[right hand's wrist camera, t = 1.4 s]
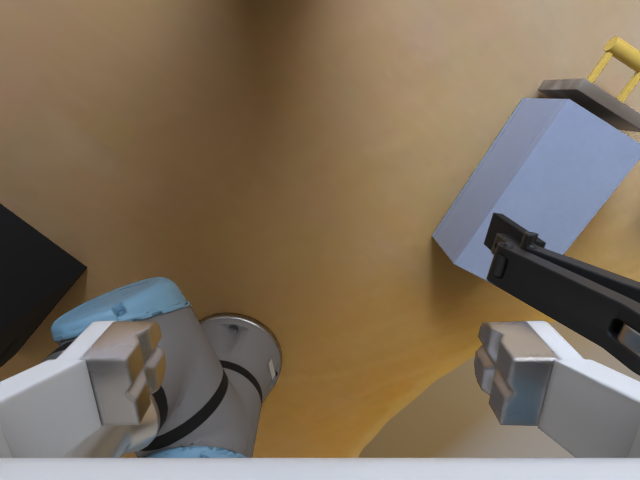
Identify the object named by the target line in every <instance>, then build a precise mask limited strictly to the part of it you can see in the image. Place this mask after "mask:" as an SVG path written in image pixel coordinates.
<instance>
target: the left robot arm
mask: <svg viewBox="0 0 640 480" xmlns="http://www.w3.org/2000/svg"><path fill="white" fill-rule="evenodd" d="M538 235H539V234H538V233H534V232H529V231H528V230H526V229H525V228H523V227H522V226H520V225H519V224H517V223H516V222H514V221H512V220H511V219H509V218H508V217H506V216H505V215H503V214H500V213H493V215H492V218H491V222H490V225H489V228H488V231H487V234H486V238H485V241H484V245H485V246H486V247H487V248H488V249H490V250H491V253H492V254H493V255H494V256H493V259H492V262H491V266H490V269H489V272H488V275H487V278H486V279H487V281H489V282H490V283H492V284H494V285H495V286H497V287H499V288H501V289H502V290H504V291H506V292H508V293H509V294H511V295H513V296H514V297H516V298H518V299H520V300H521V301H523V302H525V303H527V304H528V305H530V306H532V307H533V308H535V309H537V310H539V311H540V312H542V313H544V314H546V315H547V316H549V317H551V318H552V319H554V320H556V321H558V322H559V323H561V324H563V325H565V326H566V327H568V328H570V329H571V330H573V331H575V332H577V333H578V334H580V335H582V336H584V337H585V338H587V339H589V340H590V341H592V342H594V343H596V344H597V345H599V346H601V347H602V348H604V349H605V350H606V351H608V352H609V353H610V354H611V355H613V356H614V357H615V358H616V359H618V360H619V361H620V362H621V363H623V364H624V365H625V366H626V367H628V368H629V369H630V370H632V371H633V372H635V373H636V374H638V375H640V282H637V281H634V280H632V279H629V278H626V277H623V276H620V275H618V274H615V273H612V272H609V271H607V270H604V269H601V268H598V267H595V266H593V265H590V264H587V263H584V262H581V261H579V260H576V259H573V258H570V257H567V256H565V255H562V254H559V253H556V252H554V251H551V250H548V249H545V248H544V247H545V245H546V242H544V241H543V240H541V239H540V238H538ZM96 321H144V322H157V323H158V324H159V325H160V330H161V335H162V337H161V339H160V341H159V342H158V344H157V345H158V346H159V347H160V348H161V349H162V350H163V351H164V352H165V359H166V370H165V374H164V378H163V382H162V384H161V386H160V388H159V390H157V391H156V392H154V393H153V394H151V395H150V400H151V405H150V406H149V408H148V410H147V412H146V414H145V416H144V417H143V419H142V421H141V423H140V425H115V426H102V428H101V429H100V430H99V431H97V432H96V433H95V434H94V435H92V436H91V437H90V438H89V439H87V440H86V441H85V442H84V443H82V444H81V445H80V446H79V447H77V448H76V449H75V450H74V451H72V452H71V453H70V454H69V455H67V456H66V457H65V458H120V457H121V456H122V454H128V453H133V452H135V454H136V456H137V458H252V456H253V450H254V445H255V439H256V433H257V428H258V422H259V417H260V411H261V405H262V403H263V401H264V400H265V398H266V397H267V395H268V394H269V392H270V391H271V390H272V388H273V387H274V385H275V383H276V381H277V379H278V376H279V374H280V370H281V363H282V353H281V348H280V345H279V343H278V341H277V339H276V337H275V336H274V334H273V333H272V332H271V331H270V330H269V329H268V328H267V327H266V326H265V325H263V324H262V323H261V322H259V321H257V320H255V319H253V318H251V317H248V316H245V315H241V314H235V313H221V314H215V315H212V316H209V317H206V318H204V319H202V320H200V321H198V319H197V317H196V315H195V313H194V311H193V309H192V307H191V304H190V302H189V301H187V300H186V299H185V297H184V295H183V294H182V292H181V291H180V289H179V288H178V286H177V285H176V283H175V282H174V281H172V280H170V279H167V278H165V277H153V278H148V279H144V280H140V281H137V282H134V283H131V284H128V285H125V286H122V287H120V288H117V289H115V290H112V291H109V292H107V293H105V294H102V295H100V296H98V297H96V298H94V299H91V300H89V301H87V302H85V303H83V304H81V305H79V306H77V307H76V308H74V309H72V310H70V311H69V312H67V313H65V314H64V315H62V316H61V317H59V318H58V319H57V320H56V321H55V322H54V323H53V325H52V327H51V333H52V335H53V337H52V339H53V340H54V341H55V342H57V343H58V344H59V345H60V346H59V347H58V348H57V349H56V350H55V351H54V352H53V353H51V354H50V355H49V356H48V357H47V358H46V359H44V360H43V361H42V362H41V363H43V362H45V361H47V360H56V359H57V358H58V357H59V356H60V355H61V354H62V353H63V352H64V351H65V350H66V349H67V348H68V347H69V346H70V345H71V344H72V342H73V341H74V340H75V339H76V338H77V337H78V336H79V335H80V334H81V333H82V332H83V331H84V330H85V329H86V328H87V327H88V326H89V325H90V324H91V323H92V322H96Z"/></svg>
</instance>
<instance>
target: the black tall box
mask: <svg viewBox="0 0 640 480" xmlns="http://www.w3.org/2000/svg"><path fill="white" fill-rule="evenodd" d="M86 268H87V267H86V266H84V265H83V264H82V263H80V262H79V261H78V260H76V259H75V258H74V257H72V256H71V255H69V254H68V253H67V252H65V251H64V250H63V249H61V248H60V247H59V246H57V245H56V244H54V243H53V242H52V241H50V240H49V239H48V238H46V237H45V236H44V235H42V234H41V233H39V232H38V231H37V230H35V229H34V228H33V227H31V226H30V225H29V224H27V223H26V222H24V221H23V220H22V219H20V218H19V217H18V216H16V215H15V214H14V213H12V212H11V211H9V210H8V209H7V208H5V207H4V206H3V205H1V204H0V367H1V366H2V365H4V364H5V363H6V362H7V361H8V360H9V359H11V358H12V357H13V356H14V355H15V354H16V353H17V352H18V350H19V349H20V348H21V347H22V346H23V344H24V343H25V342H26V341H27V339H28V338H29V337H30V336H31V335H32V333H33V332H34V331H35V330H36V329H37V327H38V326H39V325H40V324H41V323H42V321H43V320H44V319H45V318H46V317H47V315H48V314H49V313H50V312H51V310H52V309H53V308H54V307H55V306H56V304H57V303H58V302H59V301H60V300H61V298H62V297H63V296H64V295H65V294H66V292H67V291H68V290H69V289H70V288H71V286H72V285H73V284H74V283H75V281H76V280H77V279H78V278H79V277H80V275H81V274H82V273H83V272H84V271H85V269H86Z"/></svg>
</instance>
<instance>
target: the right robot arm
mask: <svg viewBox="0 0 640 480" xmlns="http://www.w3.org/2000/svg"><path fill="white" fill-rule="evenodd" d="M161 337H162V335H161V330H160V325H159V324H158V323H157V322H144V321H96V322H92V323H91V324H90V325H89V326H88V327H87V328H86V329H85V330H84V331H83V332H82V333H81V334H80V335H79V336H78V337H77V338H76V339H75V340H74V341H73V342H72V344H71V345H70V346H69V347H68V348H67V349H66V350H65V351H64V352H63V353H62V354H61V355H60V356H59V357H58V358H57V359H56V360H47V361H45V362H43V363H40V364H38V365H36V366H34V367H32V368H29V369H27V370H25V371H23V372H21V373H18V374H16V375H14V376H12V377H10V378H7V379H5V380H3V381H1V382H0V480H640V382H639V381H637V380H635V379H633V378H630V377H628V376H626V375H624V374H622V373H619V372H617V371H615V370H613V369H611V368H608V367H606V366H604V365H602V364H600V363H597V362H595V361H593V360H584V359H583V358H582V357H581V356H580V355H579V354H578V353H577V352H576V350H575V349H573V347H572V346H571V345H570V344H569V343H567V341H566V340H565V339H564V338H563V337H562V336H561V335H560V334H559V333H558V332H557V331H556V330H555V329H554V328H553V327H552V326H551V325H550V324H549V323H548V322H545V321H518V322H482V324H481V326H480V329H479V334H478V337H479V339H480V341H481V342H482V344H483V345H482V346H481V347H480V348H479V349H478V350H477V351H476V352H475V360H474V367H475V375H476V378H477V382H478V384H479V386H480V388H481V390H483V391H484V392H486V393H487V394H489V395H490V400H489V405H490V406H491V408H492V410H493V412H494V414H495V415H496V417H497V419H498V421H499V423H500V424H501V425H524V426H538V428H539V429H540V430H542V431H543V432H544V433H545V434H547V435H548V436H549V437H550V438H552V439H553V440H554V441H555V442H557V443H558V444H559V445H560V446H562V447H563V448H564V449H565V450H567V451H568V452H569V453H570V454H572V455H573V456H574V457H575V458H65V457H66V456H67V455H69V454H70V453H71V452H72V451H74V450H75V449H76V448H77V447H79V446H80V445H81V444H82V443H84V442H85V441H86V440H87V439H89V438H90V437H91V436H92V435H94V434H95V433H96V432H97V431H99V430H100V429H101V428H102V426H115V425H140V423H141V421H142V419H143V417H144V416H145V414H146V412H147V410H148V408H149V406H150V405H151V400H150V395H151V394H153V393H154V392H156V391H157V390H159V388H160V386H161V384H162V382H163V378H164V374H165V370H166V359H165V352H164V351H163V350H162V349H161V348H160V347H159V346H158V345H157V344H158V342H159V341H160V339H161Z"/></svg>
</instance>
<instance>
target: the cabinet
mask: <svg viewBox="0 0 640 480" xmlns="http://www.w3.org/2000/svg"><path fill="white" fill-rule="evenodd" d="M639 159H640V143H638V142H637V141H635V140H634V139H632V138H630V137H629V136H627V135H626V134H624V133H622V132H621V131H619V130H618V129H616V128H614V127H613V126H611V125H610V124H608V123H607V122H605V121H603V120H602V119H600V118H599V117H597V116H595V115H594V114H592V113H591V112H589V111H587V110H586V109H584V108H583V107H581V106H579V105H578V104H576V103H575V102H573V101H572V100H570V99H542V98H522V100H521V101H520V103H519V104H518V106H517V107H516V109H515V110H514V112H513V113H512V115H511V116H510V118H509V119H508V121H507V122H506V124H505V125H504V127H503V128H502V130H501V131H500V133H499V134H498V136H497V138H496V139H495V141H494V142H493V144H492V145H491V147H490V148H489V150H488V151H487V153H486V154H485V156H484V157H483V159H482V160H481V162H480V163H479V165H478V166H477V168H476V169H475V171H474V172H473V174H472V175H471V177H470V178H469V180H468V181H467V183H466V184H465V186H464V187H463V189H462V190H461V192H460V193H459V195H458V197H457V198H456V200H455V201H454V203H453V204H452V206H451V207H450V209H449V210H448V212H447V213H446V215H445V216H444V218H443V219H442V221H441V222H440V224H439V225H438V227H437V228H436V230H435V231H434V233H433V234H432V237H433V238H434V239H435V241H436V242H437V243H438V244H439V246H440V247H441V248H442V249H443V251H444V252H445V253H446V255H447V256H448V257H449V258H450V260H451V261H452V262H453V264H454V265H456V266H458V267H460V268H462V269H464V270H466V271H468V272H470V273H472V274H474V275H476V276H478V277H480V278H482V279H484V280H486V281H487V279H486V278H487V275H488V272H489V269H490V266H491V262H492V259H493V256H494V255H493V254H492V253H491V250H490V249H488V248H487V247H486V246H485V245H484V241H485V238H486V234H487V231H488V228H489V225H490V222H491V218H492V215H493V213H500V214H503V215H505V216H506V217H508V218H509V219H511V220H512V221H514V222H516V223H517V224H519V225H520V226H522V227H523V228H525V229H526V230H528V231H529V232H534V233H538V234H539V235H538V238H540V239H541V240H543V241H544V242H546V245H545V247H544V248H545V249H548V250H551V251H554V252H556V253H559V254H562V255H564V253H565V252H566V251H567V249H568V248H569V247H570V246H571V244H572V243H573V242H574V241H575V239H576V238H577V237H578V236H579V234H580V233H581V232H582V231H583V229H584V228H585V227H586V226H587V224H588V223H589V222H590V221H591V219H592V218H593V217H594V216H595V214H596V213H597V212H598V211H599V209H600V208H601V207H602V206H603V204H604V203H605V202H606V201H607V199H608V198H609V197H610V196H611V194H612V193H613V192H614V190H615V189H616V188H617V187H618V185H619V184H620V183H621V182H622V180H623V179H624V178H625V177H626V175H627V174H628V173H629V172H630V170H631V169H632V168H633V167H634V165H635V164H636V163H637V162H638V160H639ZM488 282H489V281H488ZM493 285H494V284H493Z"/></svg>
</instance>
